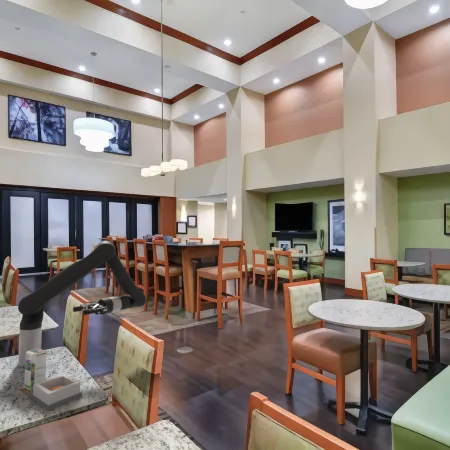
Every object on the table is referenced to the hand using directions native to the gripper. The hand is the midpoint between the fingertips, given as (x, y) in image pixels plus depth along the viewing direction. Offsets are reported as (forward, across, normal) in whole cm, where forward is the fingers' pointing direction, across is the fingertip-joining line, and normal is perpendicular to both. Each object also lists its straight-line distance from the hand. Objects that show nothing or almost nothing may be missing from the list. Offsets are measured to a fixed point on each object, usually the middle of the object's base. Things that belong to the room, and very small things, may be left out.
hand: (78, 311), depth 149 cm
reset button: (+16, +14, +27) cm, 35 cm away
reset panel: (+16, +14, +28) cm, 35 cm away
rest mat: (+18, 0, +28) cm, 33 cm away
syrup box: (+18, 0, +28) cm, 33 cm away
